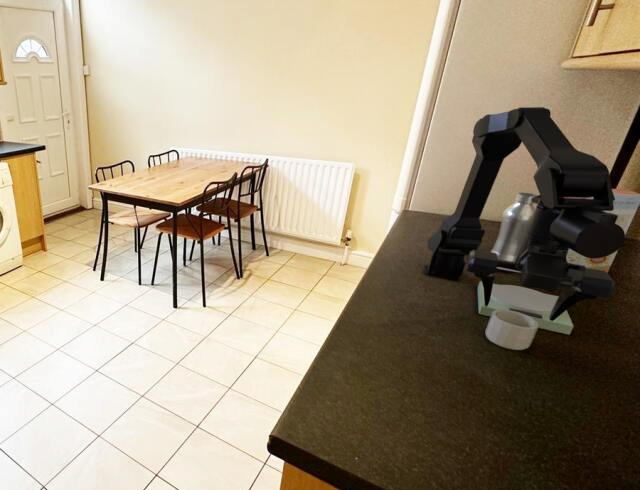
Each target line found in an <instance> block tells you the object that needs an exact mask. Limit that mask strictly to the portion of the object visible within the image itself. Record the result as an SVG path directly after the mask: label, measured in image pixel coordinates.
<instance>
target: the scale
mask: <svg viewBox="0 0 640 490" xmlns="http://www.w3.org/2000/svg"><path fill="white" fill-rule="evenodd" d="M558 297H559V295H554V294H548V293H543V292H541V291H538V290H535V289H531V288H529V287H525V286H524V287H523V286H518V285H513V284H497V283H493V287H492V292H491V298H490V302H489V304H488V306H485V301H484V288H483V284H482V280H480V281H479V283H478V285H477V304H478V315H482V316H487V317H491V315H492V312H493V311H495V310H511V311H515V312H519V313H522V314H525V315H527V316H529V317H531V318H533V319H535V320H536V321H537V322H538V324H539V327H538V329H542V330H546V331H550V332H556V333H559V334H564V335H568V336H570V335H571V333H572V331H573V329H574V324H573V322H572V319H571V317H570V315H569V312H568V309H567V310H566V311H565V312H563V313H562V314H561V315H560V316H559V317H557V318H556V319H555V320H554V321H550V319H549V317H550V314H551V311H552V309H553V307H554V305H555V303H556V301H557V299H558Z"/></svg>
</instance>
